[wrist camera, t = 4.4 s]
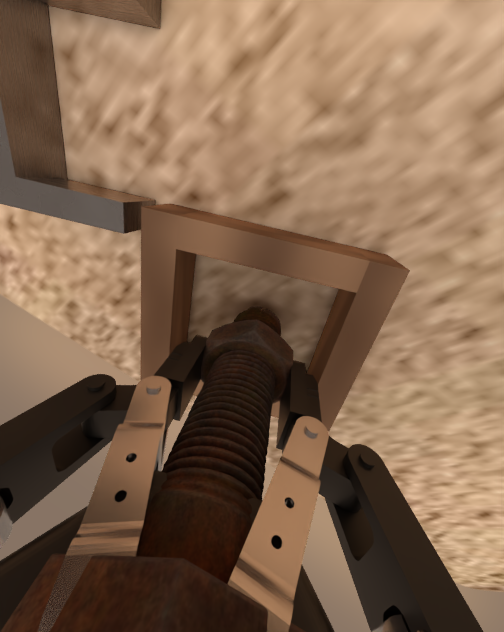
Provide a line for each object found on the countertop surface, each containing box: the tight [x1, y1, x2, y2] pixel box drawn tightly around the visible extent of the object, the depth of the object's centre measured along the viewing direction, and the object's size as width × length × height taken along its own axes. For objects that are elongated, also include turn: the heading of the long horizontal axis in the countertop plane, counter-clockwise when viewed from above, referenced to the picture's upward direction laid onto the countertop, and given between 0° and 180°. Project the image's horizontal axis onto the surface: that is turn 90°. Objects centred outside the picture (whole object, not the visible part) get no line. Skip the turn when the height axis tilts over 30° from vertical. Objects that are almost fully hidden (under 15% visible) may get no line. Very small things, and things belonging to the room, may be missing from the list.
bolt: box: [0, 307, 306, 632], centre depth 11 cm, size 6×5×15 cm
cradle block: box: [0, 0, 161, 234], centre depth 13 cm, size 8×11×4 cm
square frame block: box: [141, 204, 410, 431], centre depth 17 cm, size 14×12×4 cm
